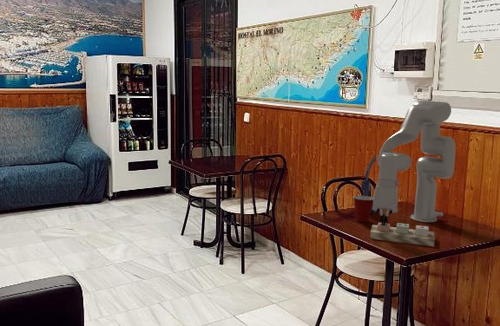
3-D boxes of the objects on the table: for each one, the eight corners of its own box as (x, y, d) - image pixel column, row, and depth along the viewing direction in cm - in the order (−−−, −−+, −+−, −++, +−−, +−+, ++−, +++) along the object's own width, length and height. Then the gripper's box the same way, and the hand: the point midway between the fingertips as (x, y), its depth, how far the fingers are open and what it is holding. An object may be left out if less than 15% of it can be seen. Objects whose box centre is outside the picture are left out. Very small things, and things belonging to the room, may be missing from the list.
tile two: (408, 231, 220) (409, 223, 220) (408, 234, 216) (408, 226, 215) (396, 230, 222) (397, 222, 221) (396, 233, 217) (396, 225, 217)
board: (432, 238, 221) (433, 231, 221) (434, 246, 210) (434, 239, 209) (372, 231, 229) (372, 224, 228) (370, 238, 217) (370, 231, 217)
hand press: (371, 216, 256) (375, 161, 251) (354, 213, 259) (358, 159, 255) (379, 208, 272) (383, 157, 268) (363, 206, 276) (367, 155, 272)
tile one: (427, 234, 218) (428, 226, 218) (427, 237, 213) (428, 229, 213) (415, 232, 220) (416, 224, 219) (415, 235, 215) (416, 227, 214)
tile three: (389, 231, 223) (389, 223, 222) (388, 234, 218) (389, 226, 218) (377, 229, 224) (378, 222, 224) (376, 232, 220) (377, 224, 219)
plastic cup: (372, 218, 251) (374, 194, 249) (375, 224, 240) (377, 199, 238) (350, 217, 252) (351, 193, 250) (352, 222, 241) (354, 198, 239)
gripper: (405, 183, 219) (401, 224, 222) (370, 179, 224) (366, 220, 226) (405, 186, 212) (401, 228, 215) (368, 182, 216) (365, 224, 219)
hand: (383, 224), depth 220 cm, fingers closed
